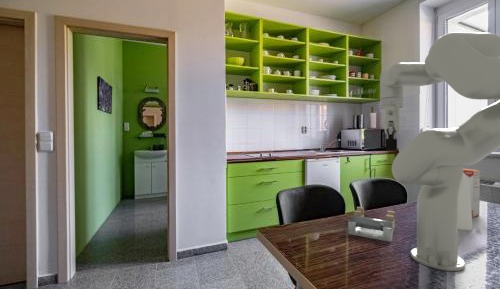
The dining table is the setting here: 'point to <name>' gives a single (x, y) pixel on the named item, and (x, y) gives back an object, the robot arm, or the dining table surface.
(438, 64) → the robot arm
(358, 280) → the dining table surface
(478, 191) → the cracker box
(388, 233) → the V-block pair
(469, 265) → the dining table surface
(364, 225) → the steel axle
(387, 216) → the bearing cradle
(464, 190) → the milk
